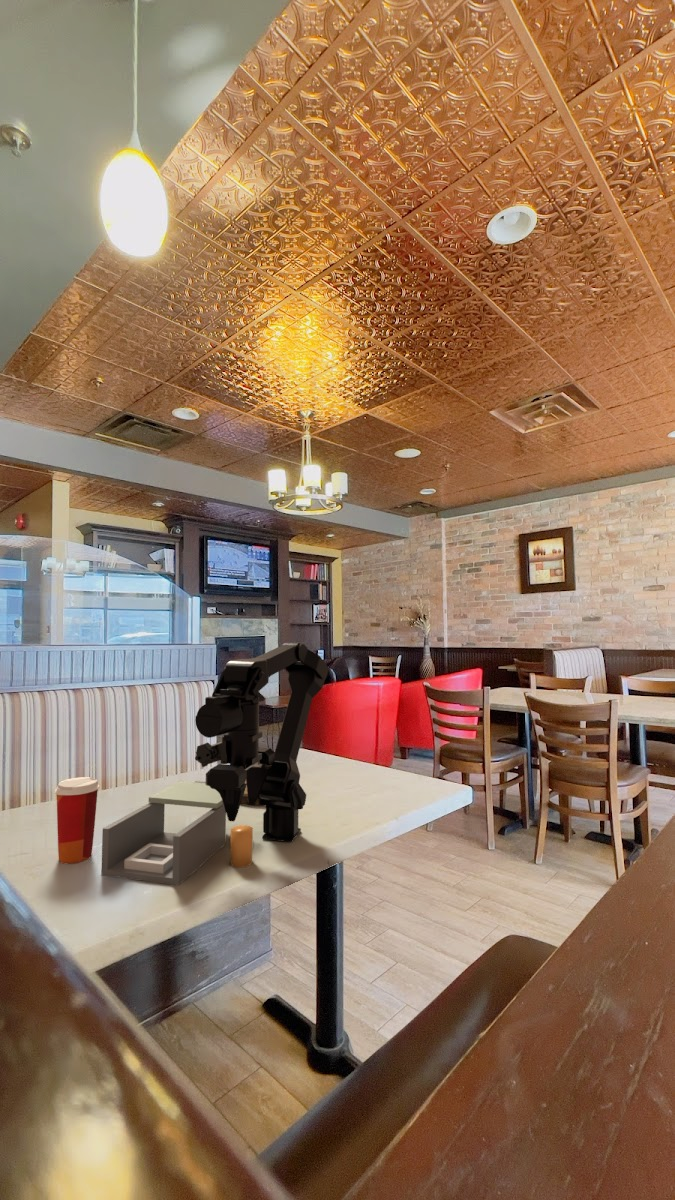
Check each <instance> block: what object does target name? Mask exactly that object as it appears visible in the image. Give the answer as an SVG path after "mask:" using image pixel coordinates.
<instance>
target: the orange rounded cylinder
mask: <svg viewBox="0 0 675 1200" xmlns="http://www.w3.org/2000/svg"><path fill="white" fill-rule="evenodd" d="M253 828H254V827H253V826H251V825H248V824H246V825H243V824H242V825H236V826H232V828H230V857H229V859H230V860H229V863H230V865H231V866H232V867H235V868H245V867H247V866H250V865H251V864H252V863H253V831H254V830H253Z"/></svg>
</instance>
